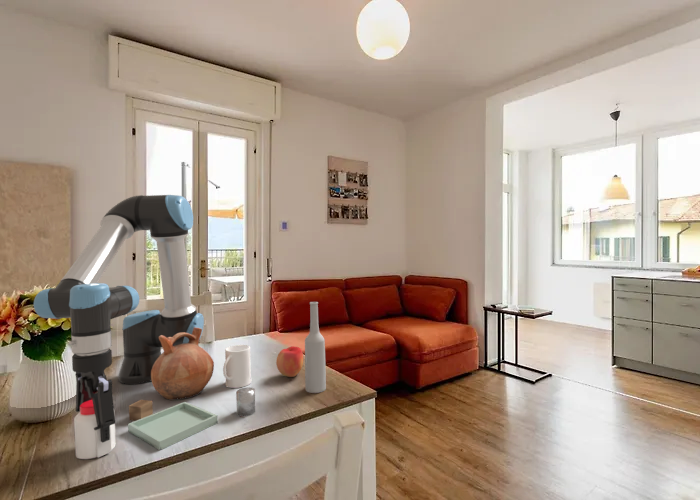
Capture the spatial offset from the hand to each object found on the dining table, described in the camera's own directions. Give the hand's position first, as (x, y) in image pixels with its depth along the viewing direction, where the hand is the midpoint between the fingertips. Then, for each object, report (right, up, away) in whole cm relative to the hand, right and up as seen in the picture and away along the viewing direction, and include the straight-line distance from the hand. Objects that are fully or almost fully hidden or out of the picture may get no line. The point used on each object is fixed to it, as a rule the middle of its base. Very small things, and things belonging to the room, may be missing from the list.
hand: (96, 448), depth 86 cm
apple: (+38, +1, +45) cm, 59 cm away
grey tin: (+30, +1, +18) cm, 35 cm away
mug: (+21, +1, +38) cm, 43 cm away
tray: (+13, 0, +10) cm, 17 cm away
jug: (+6, 0, +32) cm, 33 cm away
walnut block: (+2, 0, +16) cm, 16 cm away
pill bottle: (0, 0, 0) cm, 0 cm away
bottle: (+48, +1, +33) cm, 58 cm away
